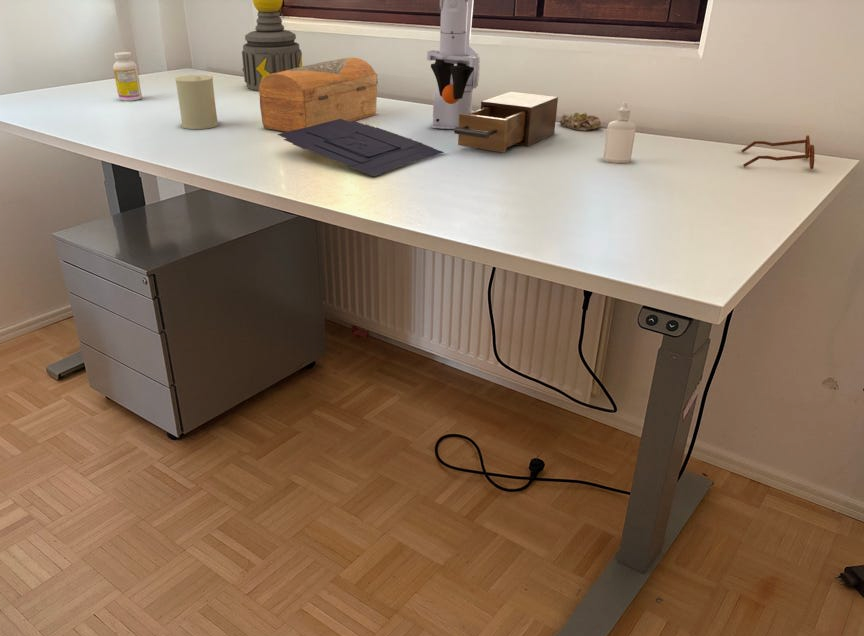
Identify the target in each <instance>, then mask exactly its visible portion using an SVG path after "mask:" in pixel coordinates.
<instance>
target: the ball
mask: <svg viewBox="0 0 864 636" xmlns="http://www.w3.org/2000/svg"><path fill="white" fill-rule="evenodd" d="M442 98H443V100H444V101H445V102H446V103H448V104H454V103H456V102H457V101H458V100H459V99H454V96H453V84H450V85H447V86H446V87H445V88H444V89H443V91H442Z"/></svg>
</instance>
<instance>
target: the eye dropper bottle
mask: <svg viewBox="0 0 864 636" xmlns="http://www.w3.org/2000/svg"><path fill="white" fill-rule="evenodd" d="M616 114H617V115H616V120H612V121H610V122H608V125H607V129H606V134H605V135H606V136H605V142H604V148H603V149H604V151H603V158H602V159H603V161H604V162H606V163H607V162H608V163H612V164H613V163H614V164H629V163H630V162H631V161H632V154H633V149H634V142H635V136H636V129H637V127H636V123H635V122H633V121H630V115H631V109H630V108H629V106H628V101H623V103H622V106H621V107H620V108H618V109H617V113H616Z"/></svg>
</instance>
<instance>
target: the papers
mask: <svg viewBox="0 0 864 636" xmlns="http://www.w3.org/2000/svg"><path fill="white" fill-rule="evenodd" d="M276 135H277V136H279V137H281V138H283V140H284V141H285V142H288V143H290V144H292V145H293V146H295V147H297V148H301V149H303V150H307V151H309V152H312V153H315V154H316V155H319V156H322V157H325V158H326V159H327V158H328V159H330V160H333V161H335V162H337V163H339V164H342V165H345V166H347V167H349V168H351V169H352V170H353V169H354V170H356V171H359V172H361V173H364V174H366V175H369V176H372V177H375V176H379V175H381V174H384V173H386V172H389V171H393V170H395V169H397V168H400V167H403V166H405V165H408V164H410V163H414V162H417V161H421V160H425V159H427V158H431V157H435V156H437V155H441V154H444V153H445V151H442V150H439V149H437V148H434V147H432V146H430V145H427V144H424V143H423V142H420V141H418V140H415V139H411V138H409V137H407V136H403V135H399V134H398V133H395V132H391V131H389V130H386V129H383V128H380V127H377V126H376V127H375V126H372V125H369V124H364V123H361V122H358V121H352V122H348V121H346V120H343V119H337V120H333V121H329V122H325V123H322V124H318V125H314V126H310V127H306V128H302V129H297V130H293V131H289V132H285V131H284V132H281V133H277V134H276Z"/></svg>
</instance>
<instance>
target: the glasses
mask: <svg viewBox="0 0 864 636" xmlns="http://www.w3.org/2000/svg"><path fill="white" fill-rule="evenodd" d="M798 144H804V154H797V155H788V156H787V155H786V156H771V155H757V156H755V157H754V158H752V159H750V160H748V161H746V162H744V163H743V164H742V166H743V167H744V168H746V167H748V166H750V165H751V164H753V163H755V162H756V161H758V160H760V159H761V160H771V161H776V162H777V161H789V160H799V159H809V161H808V162H809V169H810V170H813V169H814V166H815V145H814V144H811V138H810V135H805V139H797V140H789V141H780V142H779V141H778V142H769V141H765V140H756V141H752V142H751V143H750V144H748V145H746V146H745V147H744V148H743V149H741V150H740V151H741V153H745V152H746V151H748V150H750V148H752V147H754V146H755V145H765V146H766V145H767V146H771V147H779V146H787V145H788V146H789V145H798Z"/></svg>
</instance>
